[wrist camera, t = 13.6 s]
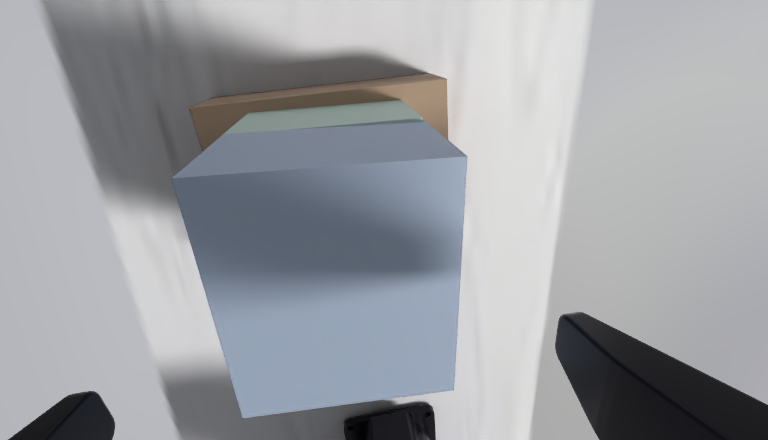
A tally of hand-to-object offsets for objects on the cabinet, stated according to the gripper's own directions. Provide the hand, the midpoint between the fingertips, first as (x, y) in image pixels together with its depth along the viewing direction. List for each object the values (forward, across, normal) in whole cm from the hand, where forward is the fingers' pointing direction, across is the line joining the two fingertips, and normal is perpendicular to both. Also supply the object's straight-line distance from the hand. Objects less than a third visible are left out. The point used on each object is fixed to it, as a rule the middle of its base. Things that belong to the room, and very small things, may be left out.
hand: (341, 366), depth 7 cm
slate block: (+6, 0, 0) cm, 6 cm away
